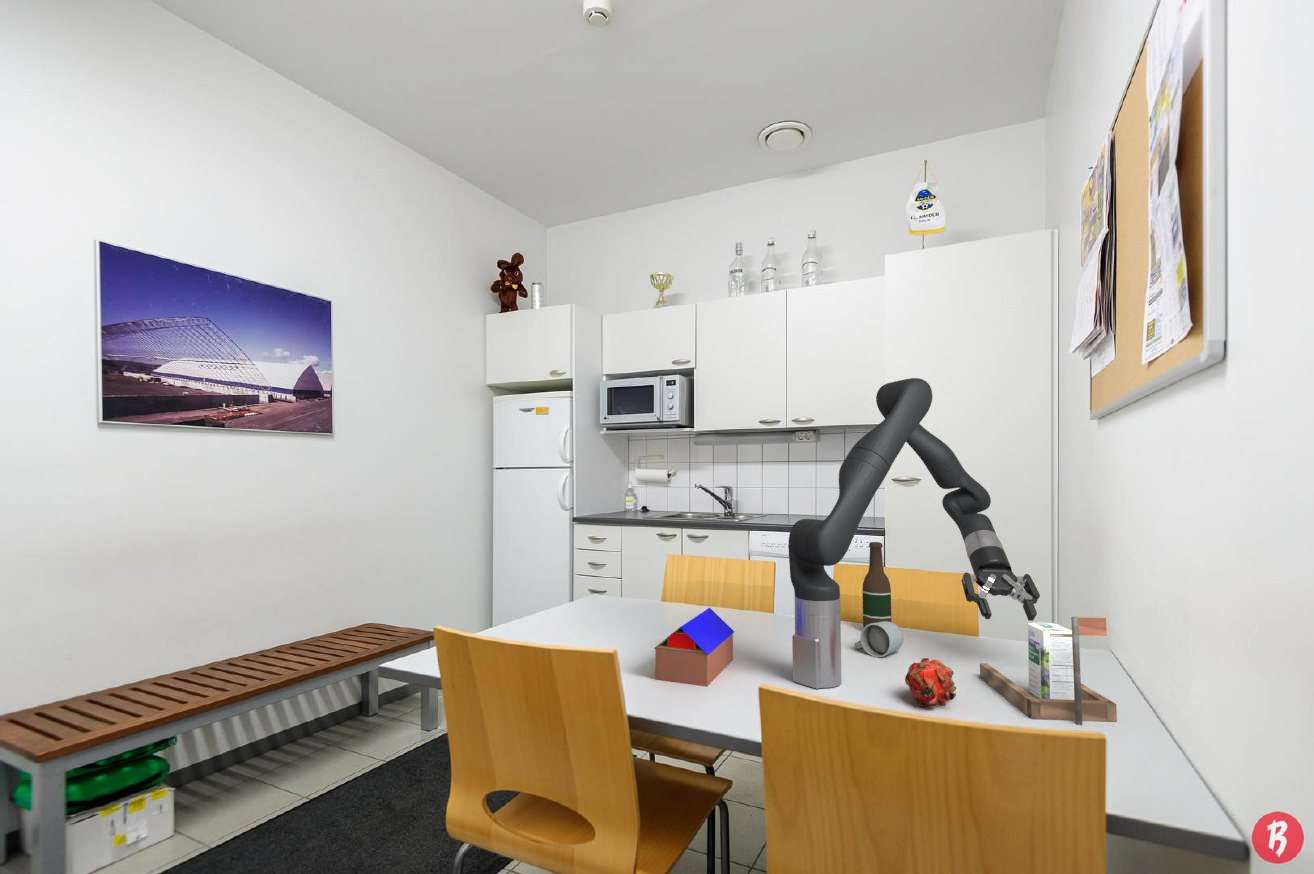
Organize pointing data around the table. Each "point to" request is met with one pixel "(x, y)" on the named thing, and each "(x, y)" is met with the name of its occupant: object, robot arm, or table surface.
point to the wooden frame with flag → (1080, 709)
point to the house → (695, 651)
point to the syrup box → (1050, 661)
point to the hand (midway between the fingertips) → (1010, 617)
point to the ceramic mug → (880, 639)
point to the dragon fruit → (930, 682)
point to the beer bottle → (876, 589)
